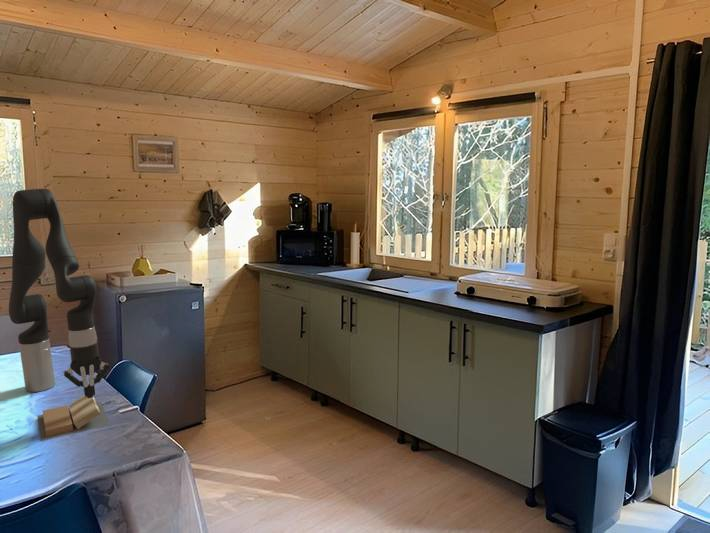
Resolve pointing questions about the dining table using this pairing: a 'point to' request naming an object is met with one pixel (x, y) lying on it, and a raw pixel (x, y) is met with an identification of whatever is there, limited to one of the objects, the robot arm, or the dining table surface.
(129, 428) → the dining table surface
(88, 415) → the oak plank
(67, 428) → the floor section
